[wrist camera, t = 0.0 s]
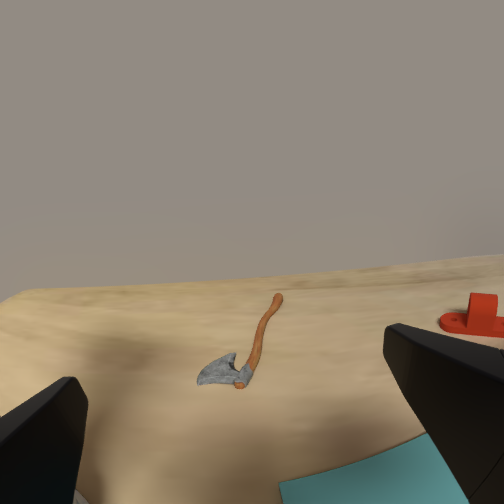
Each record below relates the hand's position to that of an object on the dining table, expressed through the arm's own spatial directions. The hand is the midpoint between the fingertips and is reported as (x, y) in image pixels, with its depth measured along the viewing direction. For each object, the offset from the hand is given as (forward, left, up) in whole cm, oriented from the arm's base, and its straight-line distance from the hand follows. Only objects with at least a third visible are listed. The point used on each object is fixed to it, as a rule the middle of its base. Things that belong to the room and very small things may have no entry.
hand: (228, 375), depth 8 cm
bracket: (+17, -30, -17) cm, 38 cm away
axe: (+30, -1, -17) cm, 34 cm away
